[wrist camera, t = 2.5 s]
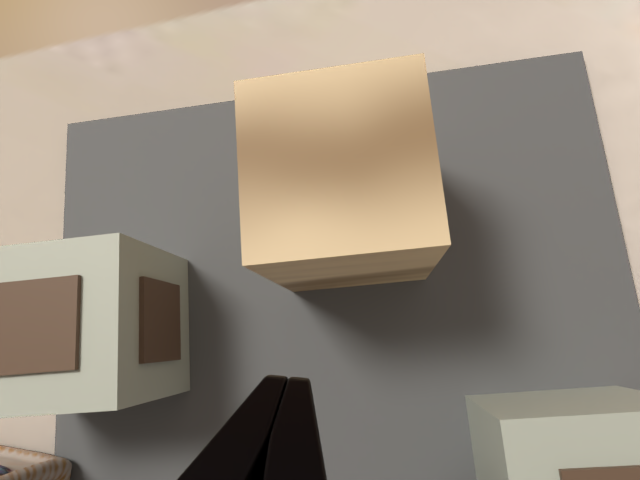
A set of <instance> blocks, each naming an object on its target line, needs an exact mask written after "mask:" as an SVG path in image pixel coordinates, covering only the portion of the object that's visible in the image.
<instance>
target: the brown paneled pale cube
mask: <svg viewBox="0 0 640 480" xmlns="http://www.w3.org/2000/svg"><path fill="white" fill-rule="evenodd" d="M186 391H190V356H189V303H188V260H187V259H184V258H182V257H179V256H177V255H174V254H172V253H169V252H167V251H164V250H162V249H159V248H157V247H154V246H152V245H149V244H147V243H144V242H142V241H139V240H137V239H134V238H132V237H129V236H127V235H124V234H122V233H112V234H103V235H94V236H85V237H76V238H67V239H58V240H49V241H41V242H32V243H23V244H14V245H5V246H0V418H13V417H28V416H43V415H57V414H72V413H87V412H101V411H116V410H120V409H124V408H128V407H131V406H135V405H139V404H142V403H146V402H150V401H153V400H157V399H161V398H164V397H168V396H172V395H175V394H179V393H183V392H186Z"/></svg>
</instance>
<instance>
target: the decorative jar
mask: <svg viewBox="0 0 640 480" xmlns="http://www.w3.org/2000/svg"><path fill="white" fill-rule="evenodd" d="M71 469H72V463H71V462H70V461H69V460H68V459H65V458H62V457H57V456H54V455H51V454H46V453H42V452H35V451H29V450H24V449H17V448H12V447H7V446H2V445H0V480H70V477H71Z"/></svg>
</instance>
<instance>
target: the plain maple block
mask: <svg viewBox="0 0 640 480" xmlns="http://www.w3.org/2000/svg"><path fill="white" fill-rule="evenodd" d="M234 94H235V117H236V139H237V162H238V185H239V208H240V231H241V254H242V266H243V267H245V268H247V269H249V270H251V271H253V272H255V273H257V274H259V275H261V276H263V277H265V278H267V279H269V280H271V281H272V282H274V283H276V284H278V285H280V286H282V287H284V288H286V289H288V290H290V291H292V292H298V291H308V290H319V289H330V288H340V287H351V286H362V285H372V284H383V283H394V282H404V281H415V280H426V278H427V277H428V276H429V274H430V273H431V272H432V270H433V269H434V267H435V266H436V265H437V263H438V262H439V261H440V259H441V258H442V257H443V255H444V254H445V252H446V251H447V250H448V248H449V247H450V246H451V240H450V233H449V226H448V219H447V212H446V205H445V198H444V191H443V184H442V177H441V170H440V163H439V156H438V149H437V142H436V135H435V127H434V120H433V113H432V106H431V99H430V92H429V85H428V78H427V71H426V64H425V57H424V53H422V54H415V55H408V56H402V57H395V58H388V59H381V60H374V61H368V62H361V63H354V64H347V65H340V66H333V67H327V68H320V69H313V70H306V71H299V72H292V73H286V74H279V75H272V76H265V77H258V78H252V79H245V80H238V81H234Z"/></svg>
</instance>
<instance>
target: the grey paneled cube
mask: <svg viewBox="0 0 640 480" xmlns="http://www.w3.org/2000/svg"><path fill="white" fill-rule="evenodd" d="M465 399H466V407H467V414H468V421H469V428H470V435H471V443H472V450H473V457H474V464H475V471H476V479H477V480H640V390H636V389H631V388H626V387H621V386H603V387H588V388H573V389H558V390H543V391H527V392H512V393H497V394H482V395H467V396H465Z"/></svg>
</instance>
